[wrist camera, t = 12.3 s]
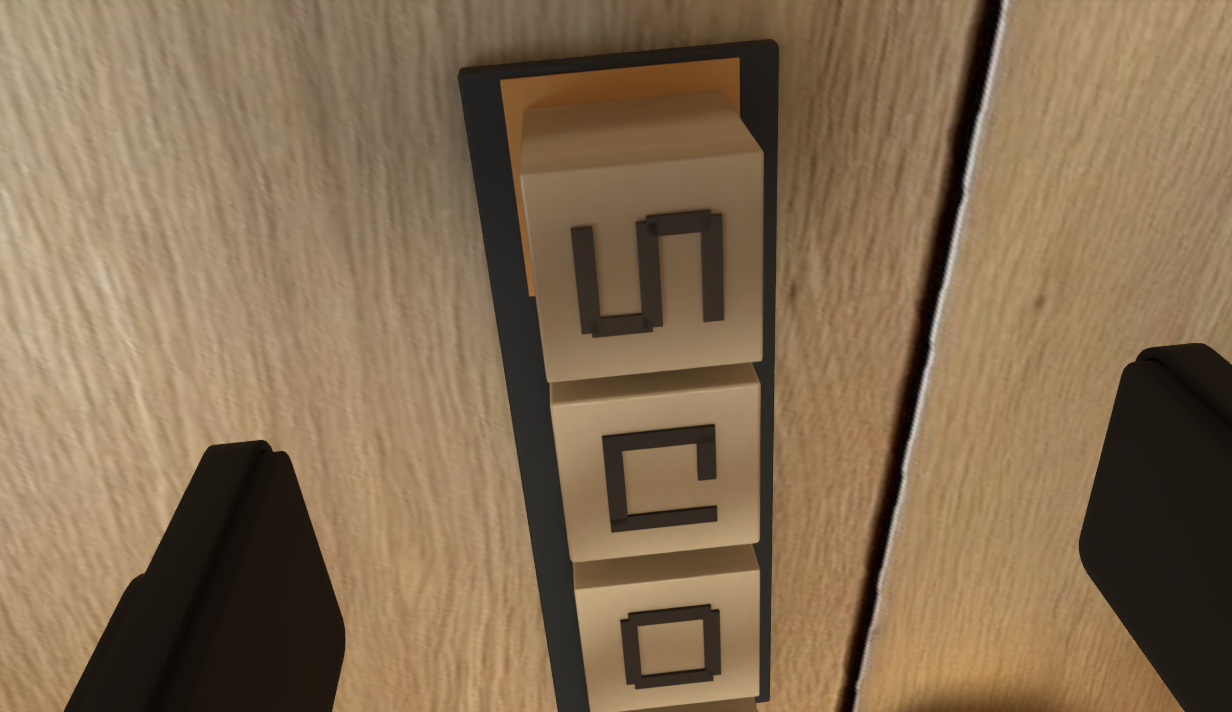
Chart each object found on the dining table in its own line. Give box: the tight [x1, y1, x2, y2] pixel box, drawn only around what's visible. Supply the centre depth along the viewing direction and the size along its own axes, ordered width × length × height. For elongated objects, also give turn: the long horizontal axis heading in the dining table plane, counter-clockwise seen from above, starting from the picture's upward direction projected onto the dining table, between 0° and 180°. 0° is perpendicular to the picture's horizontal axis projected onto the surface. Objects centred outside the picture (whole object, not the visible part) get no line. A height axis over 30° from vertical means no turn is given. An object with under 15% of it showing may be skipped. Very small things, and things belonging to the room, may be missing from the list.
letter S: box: [520, 91, 764, 383], centre depth 19 cm, size 4×4×4 cm
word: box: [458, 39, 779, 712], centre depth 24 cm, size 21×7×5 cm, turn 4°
